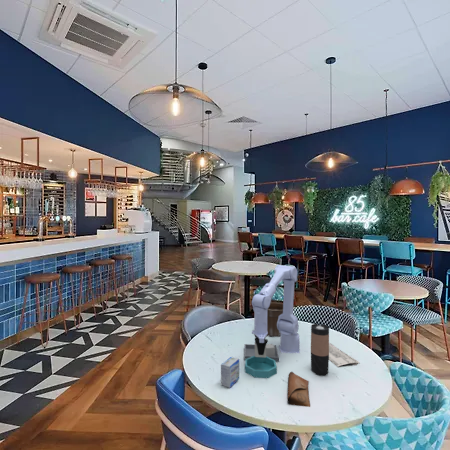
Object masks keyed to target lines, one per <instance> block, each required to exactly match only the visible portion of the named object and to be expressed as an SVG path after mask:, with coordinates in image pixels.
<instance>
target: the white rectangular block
mask: <svg viewBox="0 0 450 450" xmlns="http://www.w3.org/2000/svg"><path fill="white" fill-rule="evenodd" d="M254 345H255V357H266V346H265V350H264V355H259V354H258V349H257V345H256V342H254Z"/></svg>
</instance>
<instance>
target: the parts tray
mask: <svg viewBox="0 0 450 450" xmlns="http://www.w3.org/2000/svg"><path fill="white" fill-rule="evenodd" d="M272 345H273V346H274V347H275V356H274V357H269V358H271V359H273V360H275V361H276V363H280V355H279V351H278V346H277V345H274V344H272ZM252 356H255V344H249V343H248V344H247V343H246V344H244V360H245V359H247V358H250V357H252Z"/></svg>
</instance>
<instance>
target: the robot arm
mask: <svg viewBox="0 0 450 450" xmlns="http://www.w3.org/2000/svg"><path fill="white" fill-rule="evenodd" d="M297 281H298V269H297V268H296V267H295V265H293V266H292V265H291V266H290V265H285V264H284V265H282V264H277V265H276V266H275V268H274V274H273V276H272V278H271V279H270V281H269V282H267V283H265V285H264V286H263V287H262V288H261V289H260V291H259V292H258V293H256V294H254V295H253V297H252V300H251V306H252V308H253V309H252V310H253V312H254V313H253V314H254V318H253V319H254V330H251V334H253V336H254V341H255V342H256V345H257V349H258V354H259V355H264V350H265V346H266V344H268V343H269V340H268V339H267V337H268V336H267V334H268V331H267V309H268V307H269V306H270V303H271V302H272V298H273V297H274V295H275V294H276V292H277V287H278V285H279V284H280V283H281V282H283V284H284V285H283V286H284V287H283V303H282V304H283V314H281V315H280V316H279V317H278V322H277V328H278V330H279V332H280V333H281V336H279V337H280V345H278V348H279V351H280V353H281V354H284V353H285V354H301V353H300V343H301V342H300V334H299V318H298V317H297V316H296V315H295V314H294V301H295V300H294V296H295V283H296V282H297ZM255 342H254V343H255Z"/></svg>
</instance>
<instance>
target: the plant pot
mask: <svg viewBox="0 0 450 450" xmlns="http://www.w3.org/2000/svg"><path fill="white" fill-rule="evenodd" d="M281 314H283V303H281V302H272V301H271V302H270V306H269V307H268V309H267V331H268V334H267V336H266V337H271V338H273V337H274V338H275V337H276V338H278V337H280V336H281V333H280V332H279V330H278V328H277V322H278V317H279V316H280V315H281Z"/></svg>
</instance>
